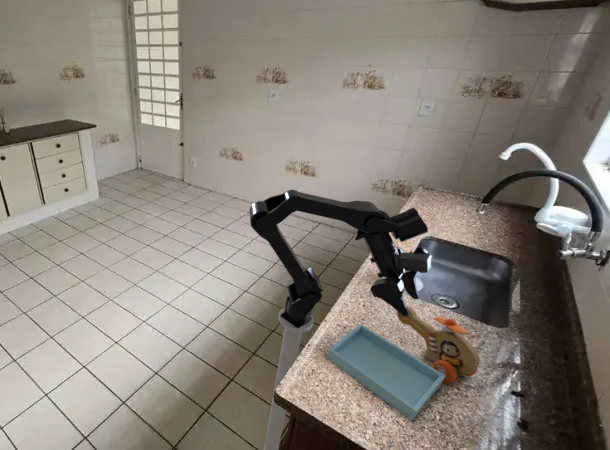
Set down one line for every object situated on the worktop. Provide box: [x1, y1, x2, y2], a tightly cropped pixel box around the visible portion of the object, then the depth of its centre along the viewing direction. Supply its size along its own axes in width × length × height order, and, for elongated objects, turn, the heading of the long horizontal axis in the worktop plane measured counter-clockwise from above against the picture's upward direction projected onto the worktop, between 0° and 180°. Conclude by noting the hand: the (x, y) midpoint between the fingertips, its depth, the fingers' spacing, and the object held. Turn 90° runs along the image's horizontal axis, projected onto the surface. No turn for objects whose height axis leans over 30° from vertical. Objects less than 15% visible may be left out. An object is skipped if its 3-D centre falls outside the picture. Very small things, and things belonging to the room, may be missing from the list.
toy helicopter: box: [396, 305, 481, 384], centre depth 86 cm, size 8×21×14 cm, turn 17°
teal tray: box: [326, 323, 445, 421], centre depth 84 cm, size 21×15×3 cm
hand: (411, 307), depth 85 cm, fingers open, 9 cm apart
